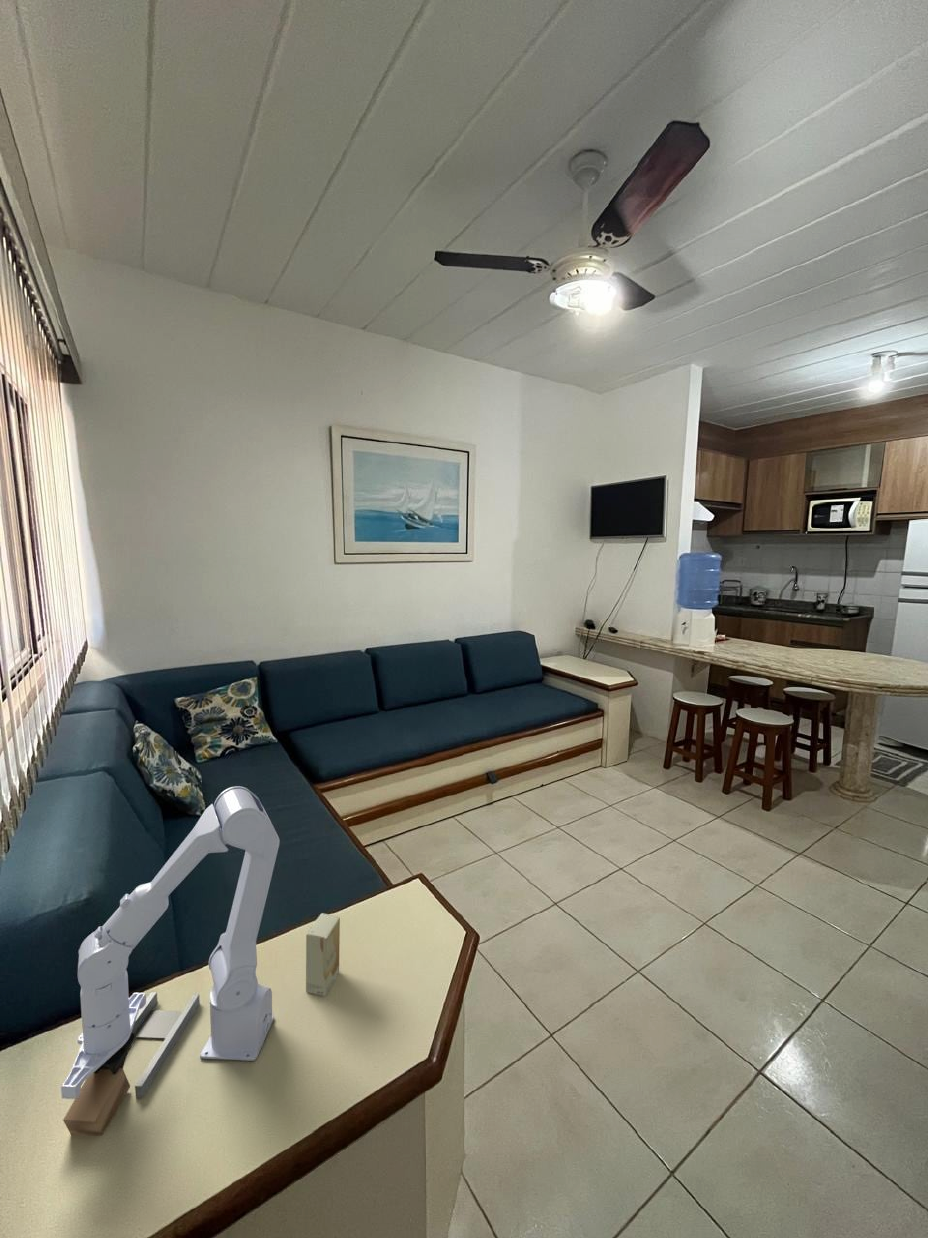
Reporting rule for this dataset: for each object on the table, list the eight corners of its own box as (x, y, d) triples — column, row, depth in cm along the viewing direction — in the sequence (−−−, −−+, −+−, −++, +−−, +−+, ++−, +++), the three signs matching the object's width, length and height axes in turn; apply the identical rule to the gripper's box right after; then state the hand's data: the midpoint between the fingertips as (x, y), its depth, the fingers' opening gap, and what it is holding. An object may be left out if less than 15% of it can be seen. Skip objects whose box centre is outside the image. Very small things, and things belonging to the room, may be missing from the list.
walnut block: (130, 1086, 76) (122, 1068, 74) (103, 1139, 71) (94, 1121, 69) (101, 1085, 76) (93, 1067, 74) (72, 1138, 71) (63, 1120, 69)
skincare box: (325, 997, 93) (325, 939, 92) (305, 993, 94) (304, 935, 92) (340, 970, 99) (340, 915, 98) (321, 966, 100) (321, 911, 99)
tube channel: (199, 1003, 91) (199, 994, 91) (142, 1097, 75) (141, 1086, 75) (152, 1001, 91) (151, 991, 91) (84, 1094, 75) (83, 1083, 75)
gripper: (115, 967, 80) (118, 1039, 82) (36, 1057, 66) (43, 1142, 68) (157, 970, 80) (160, 1042, 82) (88, 1060, 66) (93, 1145, 68)
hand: (110, 1087), depth 75 cm, fingers closed, pressing on walnut block
